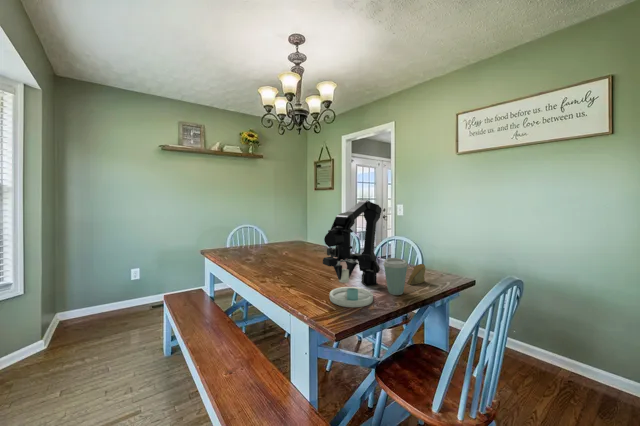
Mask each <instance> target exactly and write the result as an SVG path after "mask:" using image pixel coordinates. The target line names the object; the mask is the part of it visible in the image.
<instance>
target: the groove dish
mask: <svg viewBox="0 0 640 426" xmlns="http://www.w3.org/2000/svg"><path fill="white" fill-rule="evenodd" d="M349 288H355V289H358V300H356V301H351V300H347V289H349ZM329 300H330V302H331V303H332V304H334V305H336V306H339V307H344V308H363V307H366V306H367V307H368V306H369V305H371V304H373V300H374V294H373V292H372V291H370V289H365V288H363V287H355V286H343V287H341V286H340V287H337V288H333V289H332V290H331V291H329Z"/></svg>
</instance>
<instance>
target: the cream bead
mask: <svg viewBox="0 0 640 426" xmlns="http://www.w3.org/2000/svg"><path fill="white" fill-rule="evenodd" d="M338 282H339V283H343V284H344V283H345V284H347V283H349V282H350V278H349V270H348V269H347V268H342V274H341V280H339V279H338Z"/></svg>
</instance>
